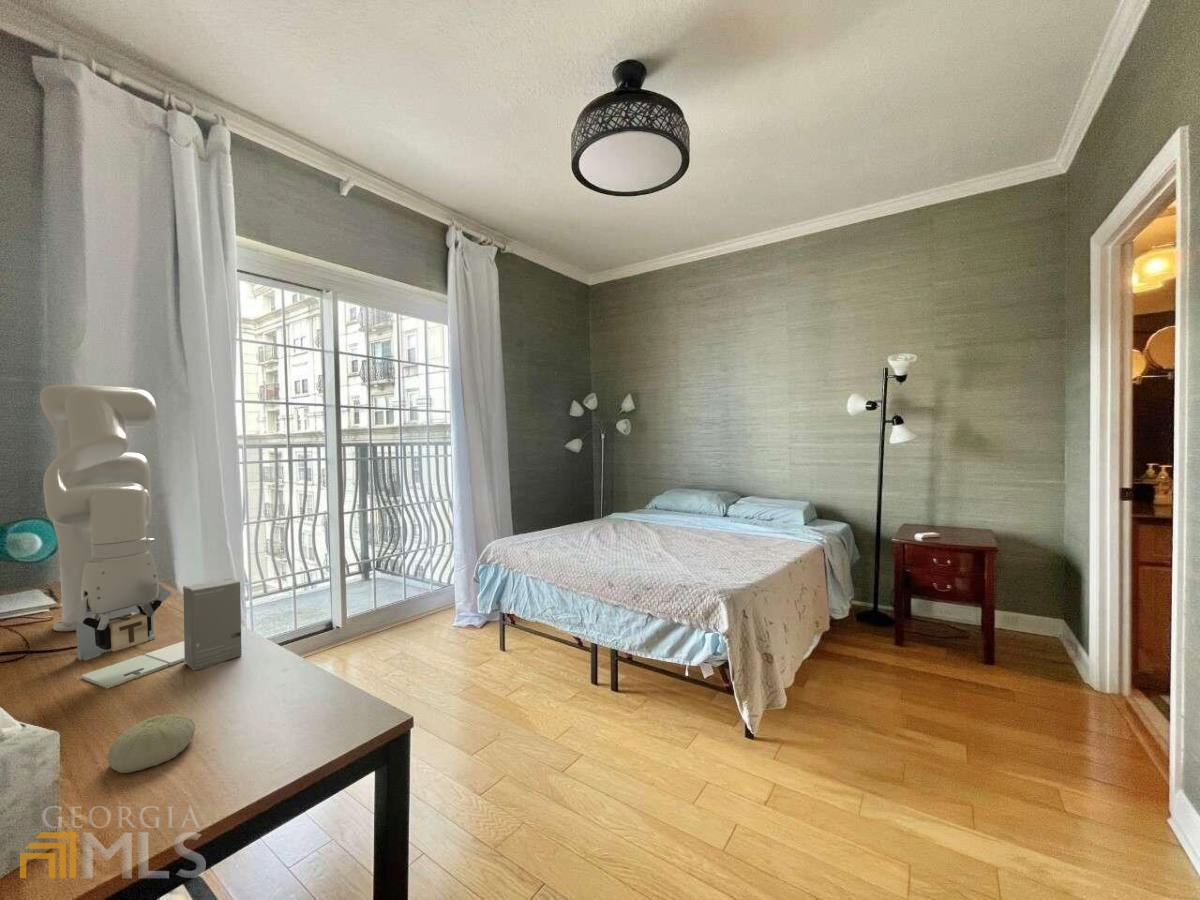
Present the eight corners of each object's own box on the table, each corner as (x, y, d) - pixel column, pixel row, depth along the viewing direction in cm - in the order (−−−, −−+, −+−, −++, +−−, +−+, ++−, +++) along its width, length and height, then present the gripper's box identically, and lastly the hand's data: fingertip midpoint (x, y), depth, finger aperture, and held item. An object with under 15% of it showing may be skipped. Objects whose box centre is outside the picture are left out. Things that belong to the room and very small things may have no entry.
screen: (75, 658, 99) (72, 606, 99) (148, 635, 110) (146, 588, 110) (83, 661, 98) (80, 608, 97) (156, 638, 109) (154, 590, 108)
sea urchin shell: (215, 717, 74) (183, 702, 68) (187, 779, 68) (149, 768, 63) (154, 720, 73) (117, 705, 68) (121, 781, 68) (77, 771, 62)
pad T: (81, 678, 91) (81, 674, 91) (142, 657, 99) (142, 654, 99) (107, 688, 87) (107, 684, 87) (168, 666, 95) (168, 662, 95)
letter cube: (101, 647, 91) (99, 620, 91) (135, 637, 96) (133, 611, 96) (114, 651, 89) (113, 624, 89) (148, 640, 94) (147, 614, 93)
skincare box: (192, 672, 92) (189, 591, 92) (183, 662, 97) (179, 585, 96) (245, 655, 99) (242, 580, 99) (233, 647, 103) (230, 575, 103)
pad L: (145, 656, 99) (145, 653, 99) (196, 639, 108) (196, 636, 108) (171, 665, 95) (171, 661, 95) (222, 646, 103) (222, 643, 103)
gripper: (164, 539, 101) (168, 623, 102) (47, 558, 86) (52, 658, 86) (183, 541, 98) (187, 628, 99) (65, 562, 83) (71, 665, 83)
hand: (124, 641), depth 92 cm, fingers closed on letter cube, 5 cm apart
